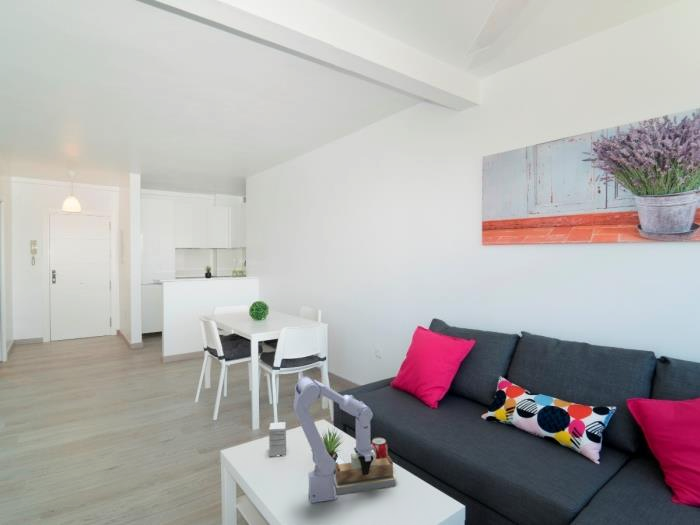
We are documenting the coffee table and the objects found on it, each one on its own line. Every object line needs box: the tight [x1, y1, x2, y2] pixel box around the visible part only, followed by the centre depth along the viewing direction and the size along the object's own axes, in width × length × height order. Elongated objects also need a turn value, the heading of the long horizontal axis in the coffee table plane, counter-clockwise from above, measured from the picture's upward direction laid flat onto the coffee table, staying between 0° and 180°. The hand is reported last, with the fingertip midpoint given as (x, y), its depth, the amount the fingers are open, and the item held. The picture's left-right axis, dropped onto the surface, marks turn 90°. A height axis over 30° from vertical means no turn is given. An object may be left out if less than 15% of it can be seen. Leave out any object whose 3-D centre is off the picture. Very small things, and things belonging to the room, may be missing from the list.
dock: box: [334, 474, 396, 496], centre depth 148 cm, size 23×8×3 cm, turn 102°
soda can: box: [371, 437, 389, 459], centre depth 159 cm, size 7×7×12 cm
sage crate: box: [350, 452, 363, 469], centre depth 147 cm, size 4×4×4 cm
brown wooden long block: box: [334, 455, 394, 483], centre depth 148 cm, size 22×5×5 cm, turn 102°
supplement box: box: [268, 421, 287, 457], centre depth 175 cm, size 7×7×13 cm
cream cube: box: [370, 450, 376, 466], centre depth 149 cm, size 4×4×4 cm
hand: (363, 470), depth 148 cm, fingers closed on brown wooden long block, 5 cm apart
